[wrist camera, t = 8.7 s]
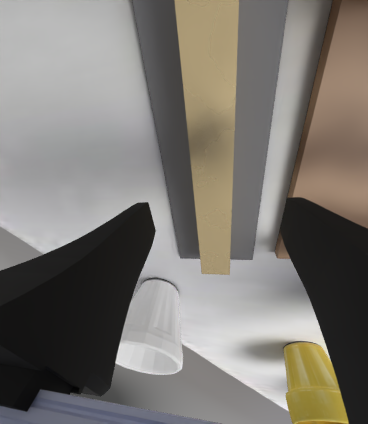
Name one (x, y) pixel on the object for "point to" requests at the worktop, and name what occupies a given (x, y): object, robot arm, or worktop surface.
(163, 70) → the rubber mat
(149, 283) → the cup
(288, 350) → the plant pot
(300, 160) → the hook rack
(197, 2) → the brass rail
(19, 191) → the worktop surface
